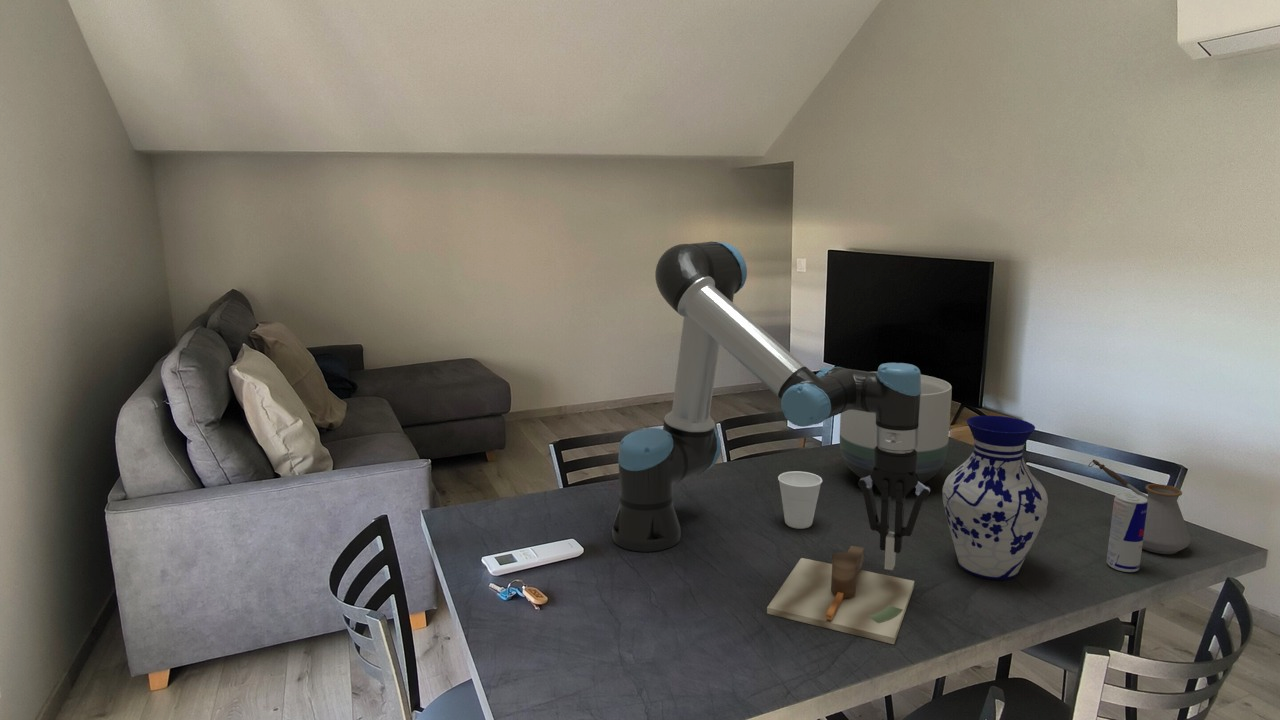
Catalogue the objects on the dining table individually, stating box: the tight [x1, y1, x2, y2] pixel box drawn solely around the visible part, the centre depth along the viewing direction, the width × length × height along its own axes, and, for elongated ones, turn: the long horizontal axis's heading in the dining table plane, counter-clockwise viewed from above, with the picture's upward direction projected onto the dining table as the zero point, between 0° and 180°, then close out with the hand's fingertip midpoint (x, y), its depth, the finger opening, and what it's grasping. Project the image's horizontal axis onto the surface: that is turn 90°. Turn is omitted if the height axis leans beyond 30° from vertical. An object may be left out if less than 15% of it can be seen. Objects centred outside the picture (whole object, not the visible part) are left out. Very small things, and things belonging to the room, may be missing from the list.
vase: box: [942, 415, 1049, 581], centre depth 151 cm, size 19×19×30 cm
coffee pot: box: [1088, 459, 1192, 555], centre depth 165 cm, size 21×12×15 cm, turn 29°
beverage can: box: [1106, 491, 1148, 573], centre depth 152 cm, size 6×6×15 cm
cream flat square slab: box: [766, 557, 915, 645], centre depth 141 cm, size 22×22×1 cm
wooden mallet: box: [826, 545, 865, 620], centre depth 141 cm, size 22×4×7 cm, turn 152°
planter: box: [839, 371, 953, 486], centre depth 198 cm, size 27×27×27 cm
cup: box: [777, 470, 823, 530], centre depth 174 cm, size 10×10×11 cm
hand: (889, 566), depth 145 cm, fingers closed
